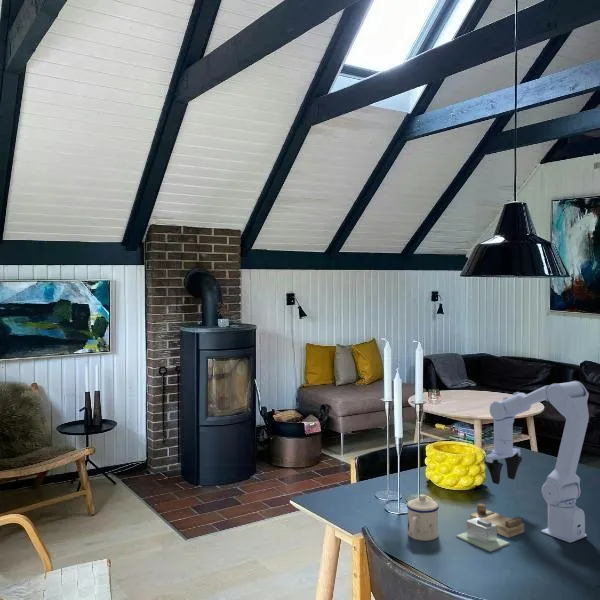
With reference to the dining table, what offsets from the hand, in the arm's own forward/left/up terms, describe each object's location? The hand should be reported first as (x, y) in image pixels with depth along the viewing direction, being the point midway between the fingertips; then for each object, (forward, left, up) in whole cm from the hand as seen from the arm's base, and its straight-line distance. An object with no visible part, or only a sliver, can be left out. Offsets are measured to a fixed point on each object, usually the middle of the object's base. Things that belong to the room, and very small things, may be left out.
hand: (503, 480), depth 198 cm
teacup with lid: (0, +36, -10) cm, 37 cm away
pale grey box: (-11, +24, -9) cm, 28 cm away
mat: (-12, +24, -10) cm, 28 cm away
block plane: (-8, +13, -10) cm, 18 cm away
